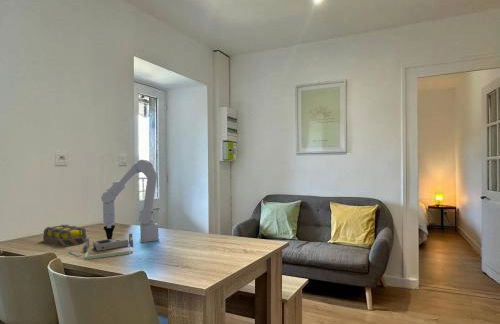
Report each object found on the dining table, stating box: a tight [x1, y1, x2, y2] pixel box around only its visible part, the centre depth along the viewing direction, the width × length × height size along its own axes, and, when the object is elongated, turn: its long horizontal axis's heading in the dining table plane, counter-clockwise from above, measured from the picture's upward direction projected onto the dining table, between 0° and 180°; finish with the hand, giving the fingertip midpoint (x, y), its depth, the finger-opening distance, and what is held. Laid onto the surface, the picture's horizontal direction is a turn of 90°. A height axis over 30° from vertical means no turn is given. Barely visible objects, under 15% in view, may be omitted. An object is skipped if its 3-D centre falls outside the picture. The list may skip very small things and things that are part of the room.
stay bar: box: [67, 250, 82, 257], centre depth 150 cm, size 2×12×1 cm, turn 49°
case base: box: [83, 232, 134, 253], centre depth 163 cm, size 23×13×4 cm, turn 114°
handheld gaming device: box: [92, 237, 129, 252], centre depth 162 cm, size 9×15×4 cm, turn 127°
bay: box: [84, 246, 134, 260], centre depth 148 cm, size 20×9×1 cm, turn 114°
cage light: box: [42, 224, 87, 247], centre depth 179 cm, size 15×8×30 cm
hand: (109, 239), depth 172 cm, fingers closed
